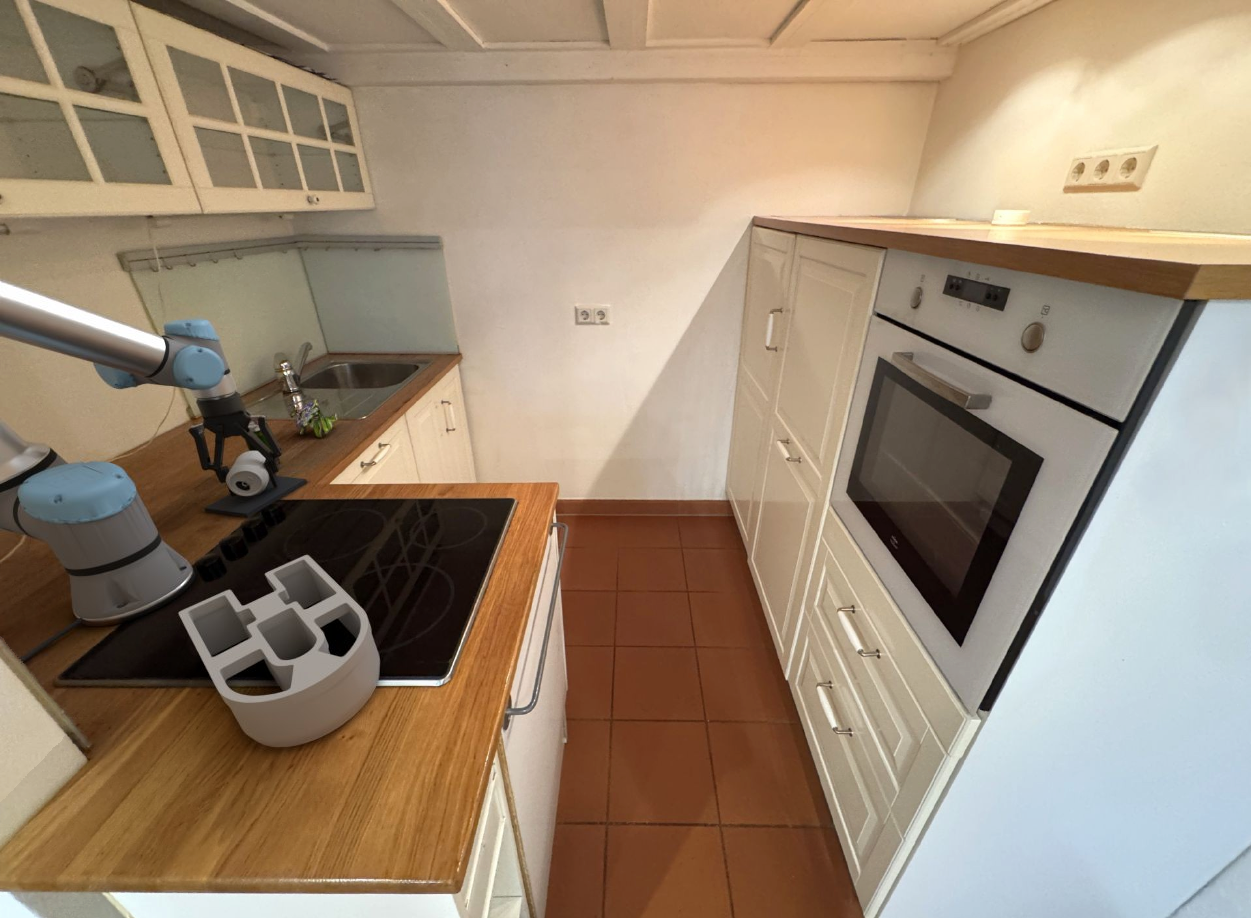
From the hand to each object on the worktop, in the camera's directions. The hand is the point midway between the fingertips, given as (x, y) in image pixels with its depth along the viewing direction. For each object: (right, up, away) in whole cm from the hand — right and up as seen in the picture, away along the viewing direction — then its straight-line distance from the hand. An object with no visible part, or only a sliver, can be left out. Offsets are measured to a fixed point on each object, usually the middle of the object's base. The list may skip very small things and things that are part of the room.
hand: (256, 489), depth 115 cm
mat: (0, -2, +1) cm, 2 cm away
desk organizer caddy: (+40, -23, -45) cm, 64 cm away
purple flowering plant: (-8, +15, +36) cm, 40 cm away
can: (-3, +6, +4) cm, 8 cm away
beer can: (-7, +5, +15) cm, 17 cm away
